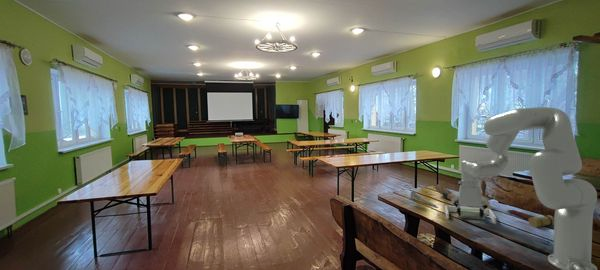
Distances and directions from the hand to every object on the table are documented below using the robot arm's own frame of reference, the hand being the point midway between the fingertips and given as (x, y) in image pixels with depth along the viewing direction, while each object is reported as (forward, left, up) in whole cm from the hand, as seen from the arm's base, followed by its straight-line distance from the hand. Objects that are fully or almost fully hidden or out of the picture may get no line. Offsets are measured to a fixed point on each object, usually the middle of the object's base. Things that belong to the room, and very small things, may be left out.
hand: (470, 216), depth 141 cm
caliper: (+21, +22, -2) cm, 30 cm away
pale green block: (+4, -1, -2) cm, 5 cm away
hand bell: (+22, -10, -2) cm, 24 cm away
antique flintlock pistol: (+29, +4, -2) cm, 29 cm away
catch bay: (+4, 0, -2) cm, 4 cm away
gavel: (+8, -26, -2) cm, 27 cm away
